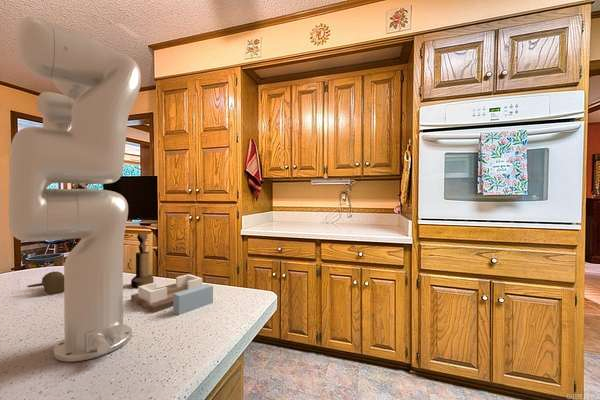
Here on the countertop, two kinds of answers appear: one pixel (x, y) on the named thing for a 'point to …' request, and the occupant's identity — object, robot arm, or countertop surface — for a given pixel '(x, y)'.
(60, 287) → the kendama
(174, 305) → the light blue rectangular block
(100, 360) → the countertop surface
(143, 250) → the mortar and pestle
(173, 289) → the board
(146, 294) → the end caps
